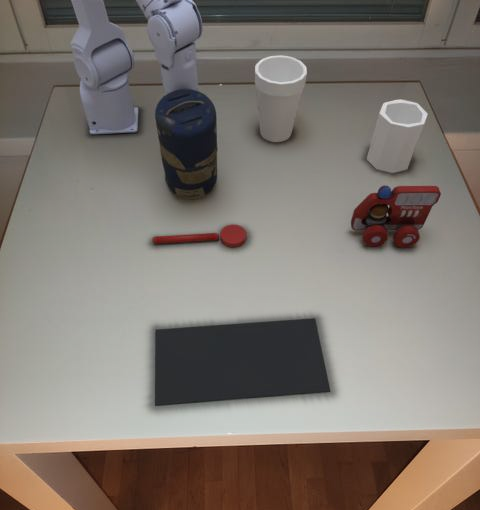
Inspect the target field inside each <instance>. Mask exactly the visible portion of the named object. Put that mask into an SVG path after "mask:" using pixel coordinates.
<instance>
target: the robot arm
mask: <svg viewBox="0 0 480 510" xmlns="http://www.w3.org/2000/svg"><path fill="white" fill-rule="evenodd" d="M70 1H71V4H72V7H73V9H74V10H73V11H74V13H75V17H76V21H77V22H78V27H77V30H76V32H75V34H74V36H73V37H72V39H71V41H70V48H71V51H72V55H73V65H74V68H75V71H76V73H77V76H78V77H79V79H80V82H79V95H80V101H81V105H82V108H83V111H84V115H85V118H86V122H87V125H88V128H89V134H90V135H110V134H128V133H137V132H138V129H139V128H138V127H139V126H138V125H139V108H138V107H134V102H133V96H132V92H131V87H130V81H129V79H130V78H131V77H132V73H131V71H132V70H133V69H134V67H135V55H134V52H133V48H132V47H131V45H130V43H129V42H128V39H127V36H126V34H125V31H124V29H123V28H122V27H120V26H118V25H117V24H115V23H113V22H111V21H110V20H109V19H110V18H109V17H108V12H107V9H106V6H105V5H106V4H105V2H104V0H70ZM135 2H136V3H137V5H138V7H139V8H140V10H141V12H142V13H143V15H144V17H145V18H146V21H147V26H145V30H146V34H147V36H148V40H149V41H150V44H151V45H152V47H153V51H154V56H155V58H156V60H157V62H158V63H159V66H160V67H159V68H160V74H161V75H160V76H161V82H162V88H163V89H162V90H163V97H164V96H165V95H166V94H168V93H170V92H172V91H175V90H179V89H192V90H196V91H199V92H200V90H199V76H198V62H197V61H198V60H197V46H196V41H198V40H199V39H200V38H201V36H202V34H203V20H202V16H201V13H200V10H199V8H198V6H197V4H196V3H195V2H194V0H135Z"/></svg>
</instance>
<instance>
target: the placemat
mask: <svg viewBox="0 0 480 510" xmlns="http://www.w3.org/2000/svg"><path fill="white" fill-rule="evenodd" d="M154 337H155V338H154V339H155V342H154V345H155V347H154V406H155V407H157V406H168V405H169V406H170V405H181V404H192V403H193V404H194V403H207V402H218V401H219V402H220V401H232V400H245V399H255V398H256V399H257V398H270V397H282V396H293V395H305V394H306V395H307V394H320V393H330V392H331V387H330V382H329V377H328V372H327V367H326V363H325V358H324V353H323V348H322V343H321V340H320V334H319V331H318V324H317V321H316V317H313V318H299V319H297V318H296V319H283V320H270V321H255V322H242V323H230V324H228V323H227V324H214V325H200V326H199V325H198V326H187V327H173V328H172V327H171V328H158V329H155V334H154Z"/></svg>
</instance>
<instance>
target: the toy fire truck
mask: <svg viewBox="0 0 480 510" xmlns="http://www.w3.org/2000/svg"><path fill="white" fill-rule="evenodd" d="M441 195H442V193H441V190H440V188H439V186H438V185H396V186H395V187H393V188H391V187H390V186H388V185H382V186H380V187H379V188H378V190H377V192H371V193H369V194H368V195H367V196H366V197H365V198H364V199H362V201H361V202H359V204H358V205H357V206H356V207H355V208H354V209H353V212H352V216H351V219H350V227H351V229H352V230H353V231H357V232H358V231H362V240H363V243H364V244H365V245H366V246H369V247H378V246H382V245H383V244H385V243H386V242H387V241H388V239H389V233H388V232H389V231H394V233H393V235H392V239H393V243H394V245H395V246H396V247H398V248H401V249H402V248H409V247H413V246H414V245H416V244H417V243H418V242H419V240H420V238H421V237H420V232H419V230H421V229H422V228H423V227H424V226H425V223H426V221H427V219H428V217H429V215H430V212H431V210H432V209H433V206H434V205H436V204H437V203H438V202H439V199H440V197H441Z"/></svg>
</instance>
